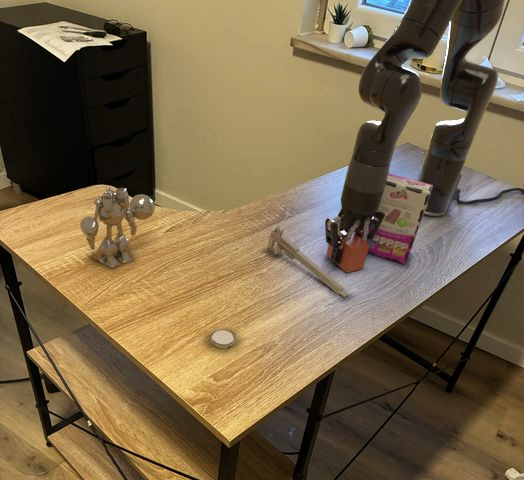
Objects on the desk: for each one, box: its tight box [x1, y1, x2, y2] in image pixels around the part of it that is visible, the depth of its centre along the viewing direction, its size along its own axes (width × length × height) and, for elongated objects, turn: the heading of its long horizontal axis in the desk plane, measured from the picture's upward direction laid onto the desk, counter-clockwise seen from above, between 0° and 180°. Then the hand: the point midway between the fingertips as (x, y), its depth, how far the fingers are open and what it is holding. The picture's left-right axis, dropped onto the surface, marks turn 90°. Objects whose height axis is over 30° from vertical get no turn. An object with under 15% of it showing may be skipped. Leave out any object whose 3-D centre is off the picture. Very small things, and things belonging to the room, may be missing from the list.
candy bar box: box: [367, 173, 433, 265], centre depth 110 cm, size 11×5×16 cm, turn 68°
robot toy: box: [79, 185, 156, 268], centre depth 98 cm, size 15×6×15 cm, turn 134°
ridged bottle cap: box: [210, 329, 236, 349], centre depth 88 cm, size 4×4×1 cm
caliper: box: [267, 226, 348, 298], centre depth 104 cm, size 20×1×6 cm, turn 47°
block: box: [325, 230, 369, 274], centre depth 109 cm, size 4×7×6 cm, turn 32°
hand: (344, 259), depth 110 cm, fingers closed on block, 4 cm apart
